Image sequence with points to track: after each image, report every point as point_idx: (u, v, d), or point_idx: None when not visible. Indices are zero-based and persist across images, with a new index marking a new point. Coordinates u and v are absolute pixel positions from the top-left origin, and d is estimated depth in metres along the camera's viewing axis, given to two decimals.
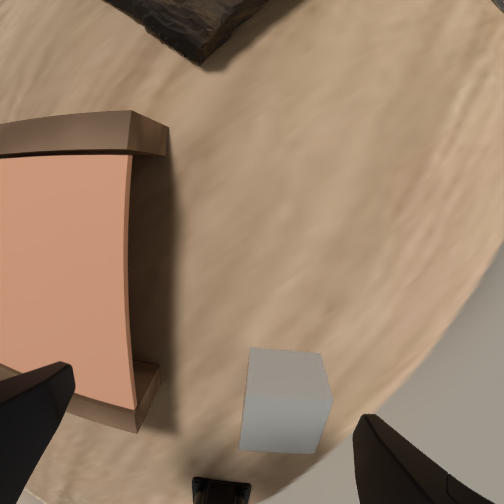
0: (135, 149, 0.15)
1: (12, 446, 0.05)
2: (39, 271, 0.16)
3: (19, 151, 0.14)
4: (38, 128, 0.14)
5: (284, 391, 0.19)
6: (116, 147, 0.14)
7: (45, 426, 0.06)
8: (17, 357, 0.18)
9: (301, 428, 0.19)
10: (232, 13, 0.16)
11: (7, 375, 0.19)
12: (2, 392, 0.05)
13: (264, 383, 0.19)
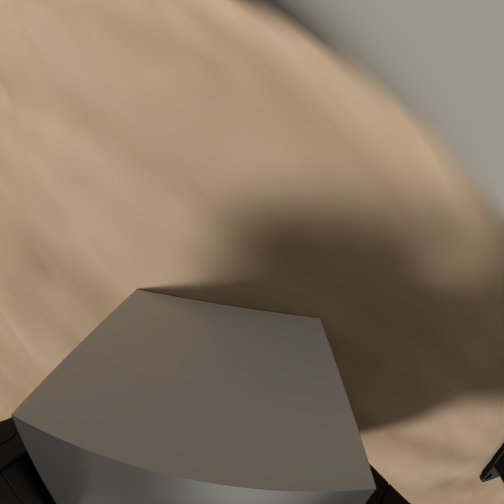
0: None
1: None
2: None
3: None
4: None
5: None
6: None
7: None
8: None
9: None
10: None
11: None
12: None
13: None
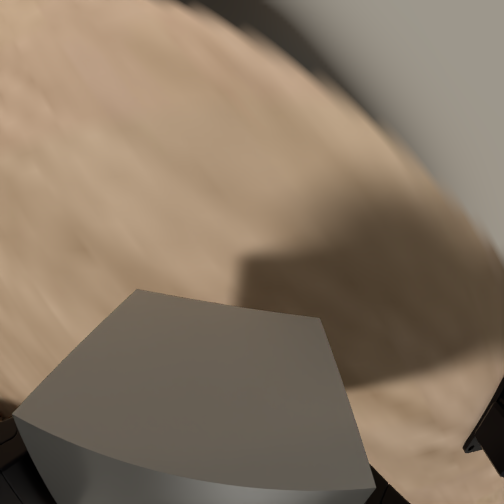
0: None
1: None
2: None
3: None
4: None
5: None
6: None
7: None
8: None
9: None
10: None
11: None
12: None
13: None
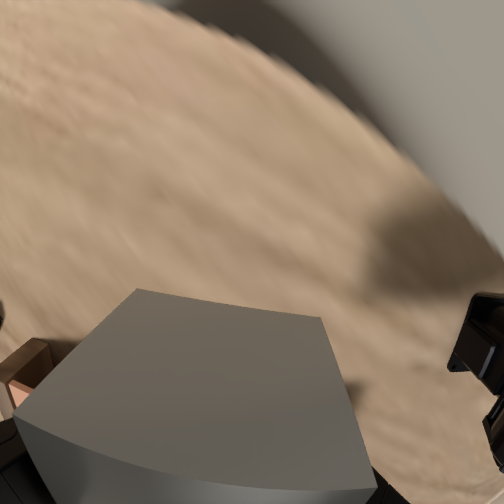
0: (12, 375, 0.16)
1: None
2: None
3: None
4: None
5: None
6: (5, 390, 0.15)
7: None
8: None
9: None
10: None
11: None
12: None
13: None
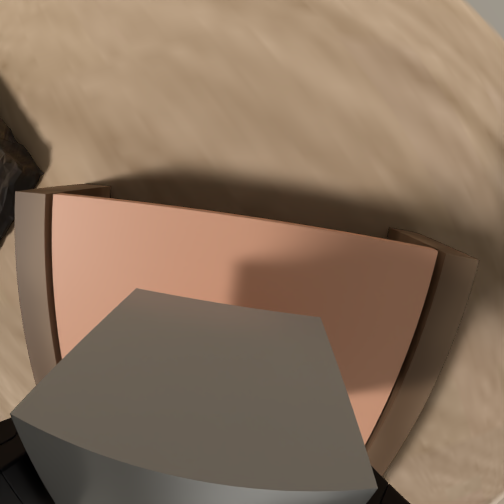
0: (59, 192, 0.12)
1: None
2: None
3: (53, 354, 0.13)
4: (30, 320, 0.12)
5: None
6: (43, 208, 0.11)
7: None
8: None
9: None
10: None
11: None
12: None
13: None
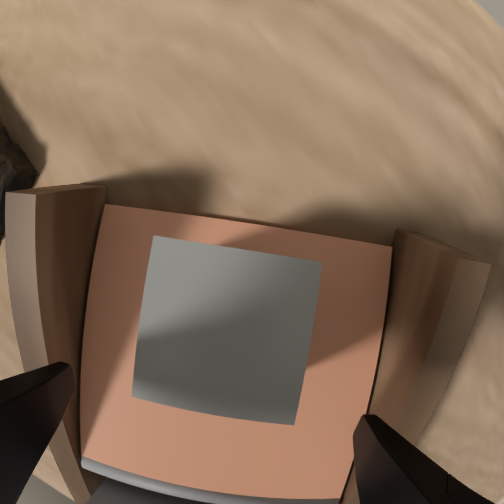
0: (50, 192, 0.11)
1: (12, 446, 0.05)
2: None
3: (46, 361, 0.12)
4: (22, 326, 0.12)
5: None
6: (33, 209, 0.10)
7: (45, 426, 0.06)
8: (337, 427, 0.15)
9: (225, 296, 0.10)
10: None
11: None
12: (2, 392, 0.05)
13: None
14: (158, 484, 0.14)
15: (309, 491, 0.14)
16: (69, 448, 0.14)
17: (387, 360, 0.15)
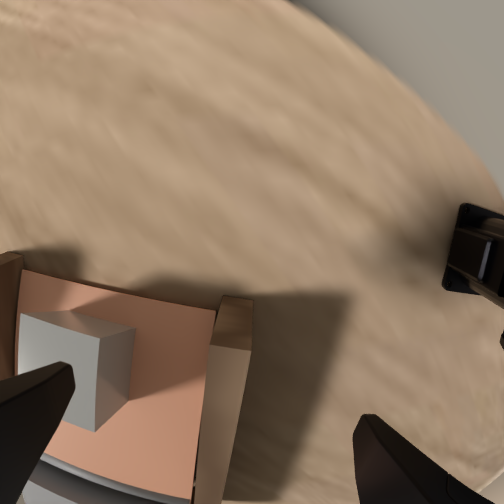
0: None
1: (12, 446, 0.05)
2: None
3: None
4: None
5: None
6: None
7: (45, 426, 0.06)
8: (176, 444, 0.19)
9: (52, 352, 0.14)
10: None
11: (203, 485, 0.17)
12: (2, 392, 0.05)
13: None
14: (64, 464, 0.18)
15: (164, 488, 0.18)
16: None
17: None
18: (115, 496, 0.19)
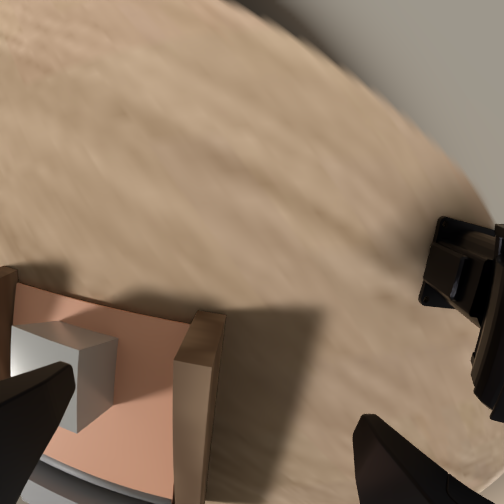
0: None
1: (12, 446, 0.05)
2: None
3: None
4: None
5: None
6: None
7: (45, 426, 0.06)
8: (157, 447, 0.20)
9: (39, 360, 0.15)
10: None
11: (180, 486, 0.18)
12: (2, 392, 0.05)
13: None
14: (57, 463, 0.19)
15: (148, 487, 0.19)
16: None
17: None
18: (104, 494, 0.20)
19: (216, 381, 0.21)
